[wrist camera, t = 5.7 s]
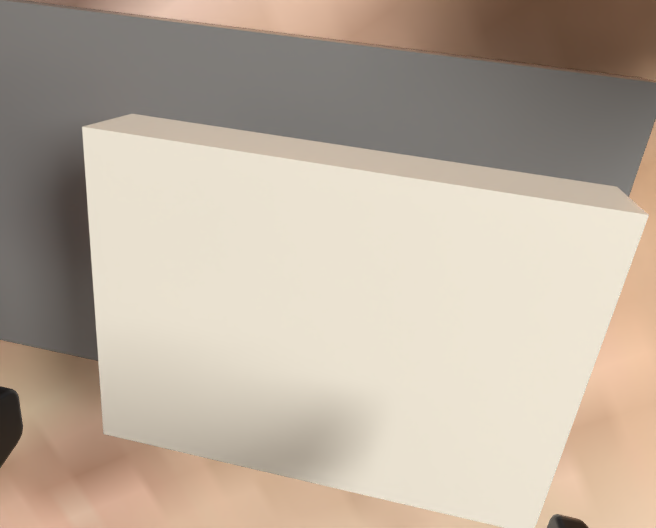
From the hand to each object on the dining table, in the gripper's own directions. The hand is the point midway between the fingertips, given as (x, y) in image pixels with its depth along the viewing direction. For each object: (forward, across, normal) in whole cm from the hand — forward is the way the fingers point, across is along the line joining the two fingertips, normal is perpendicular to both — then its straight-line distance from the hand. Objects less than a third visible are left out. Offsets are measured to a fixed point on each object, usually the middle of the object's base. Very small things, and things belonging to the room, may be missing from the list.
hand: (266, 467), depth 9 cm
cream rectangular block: (+7, 0, 0) cm, 7 cm away
